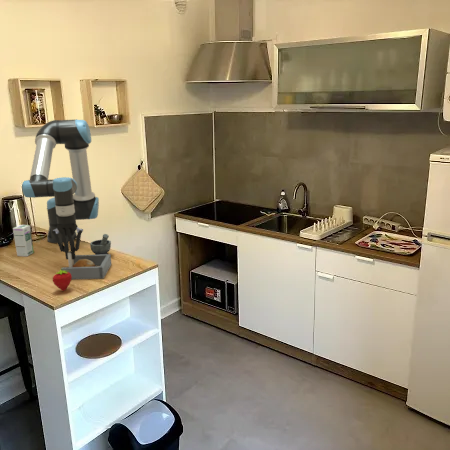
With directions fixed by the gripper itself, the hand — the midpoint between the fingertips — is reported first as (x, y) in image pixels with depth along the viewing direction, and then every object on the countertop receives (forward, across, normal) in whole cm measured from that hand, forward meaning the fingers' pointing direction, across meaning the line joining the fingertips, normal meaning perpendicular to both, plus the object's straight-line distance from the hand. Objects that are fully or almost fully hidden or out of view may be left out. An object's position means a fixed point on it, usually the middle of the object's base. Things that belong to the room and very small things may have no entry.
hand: (71, 266), depth 202 cm
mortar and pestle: (+3, +9, +20) cm, 22 cm away
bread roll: (+3, +5, -1) cm, 6 cm away
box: (+3, +7, 0) cm, 7 cm away
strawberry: (+3, +2, -20) cm, 20 cm away
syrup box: (+3, -30, +26) cm, 40 cm away
